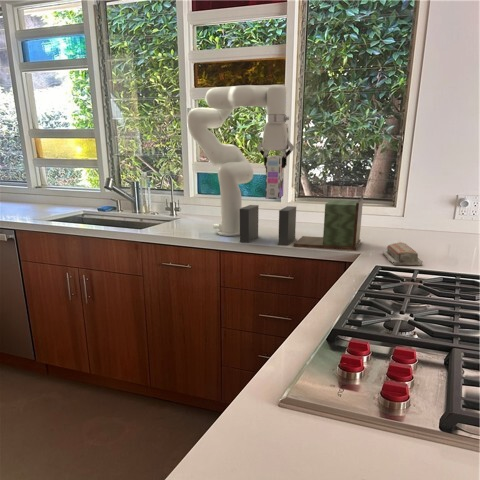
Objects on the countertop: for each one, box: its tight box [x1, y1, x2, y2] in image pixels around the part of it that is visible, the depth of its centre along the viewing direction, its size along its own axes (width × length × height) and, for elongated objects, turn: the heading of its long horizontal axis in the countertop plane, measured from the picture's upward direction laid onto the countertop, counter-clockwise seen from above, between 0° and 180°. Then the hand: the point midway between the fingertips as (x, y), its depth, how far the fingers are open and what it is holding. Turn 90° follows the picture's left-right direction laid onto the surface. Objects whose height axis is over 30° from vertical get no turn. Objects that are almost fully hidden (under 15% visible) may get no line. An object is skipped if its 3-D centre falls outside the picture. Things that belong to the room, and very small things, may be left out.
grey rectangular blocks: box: [239, 204, 297, 246], centre depth 198 cm, size 21×14×14 cm, turn 71°
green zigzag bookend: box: [293, 197, 364, 251], centre depth 190 cm, size 25×17×18 cm
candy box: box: [265, 155, 285, 200], centre depth 191 cm, size 14×6×16 cm, turn 168°
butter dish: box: [381, 242, 423, 266], centre depth 166 cm, size 18×5×10 cm
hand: (275, 167), depth 189 cm, fingers closed on candy box, 6 cm apart
